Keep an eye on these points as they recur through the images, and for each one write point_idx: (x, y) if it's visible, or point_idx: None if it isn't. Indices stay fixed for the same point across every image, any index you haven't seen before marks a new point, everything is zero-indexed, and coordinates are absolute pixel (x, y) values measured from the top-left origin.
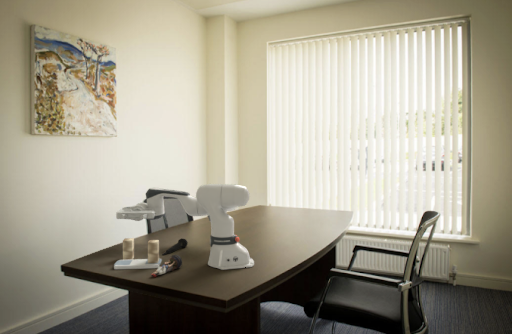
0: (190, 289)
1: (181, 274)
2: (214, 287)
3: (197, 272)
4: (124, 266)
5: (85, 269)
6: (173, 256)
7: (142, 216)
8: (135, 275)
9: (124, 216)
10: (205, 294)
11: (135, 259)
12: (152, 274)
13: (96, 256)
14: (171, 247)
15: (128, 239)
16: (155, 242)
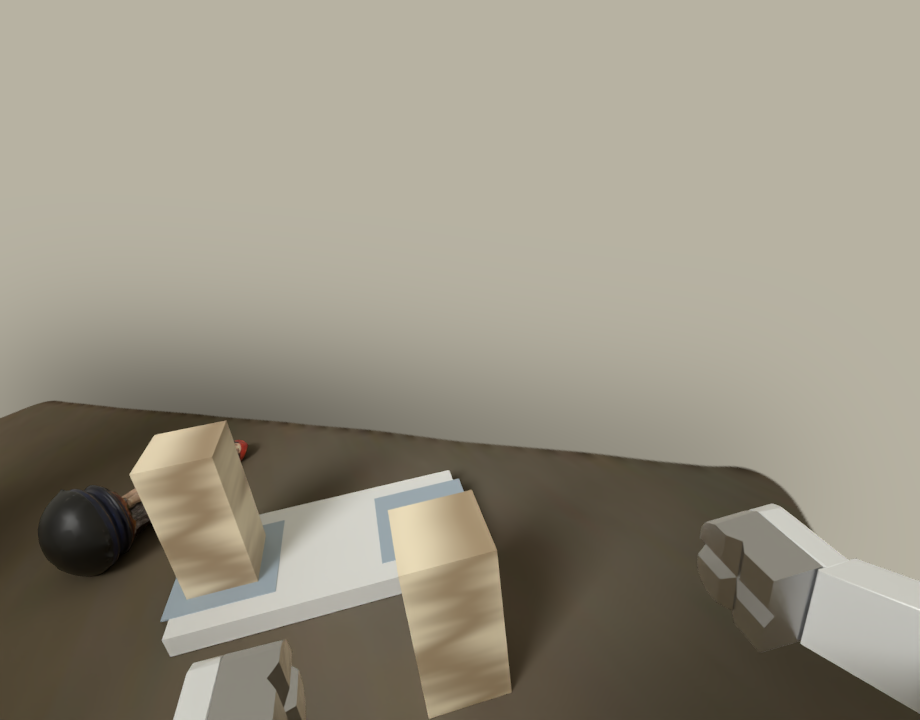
0: (118, 419)
1: None
2: (27, 441)
3: (4, 534)
4: (396, 485)
5: (595, 457)
6: (88, 492)
7: (237, 663)
8: (319, 455)
9: (721, 522)
10: (85, 408)
11: (366, 581)
12: (238, 440)
13: (810, 672)
14: None
15: (436, 527)
16: (170, 433)
